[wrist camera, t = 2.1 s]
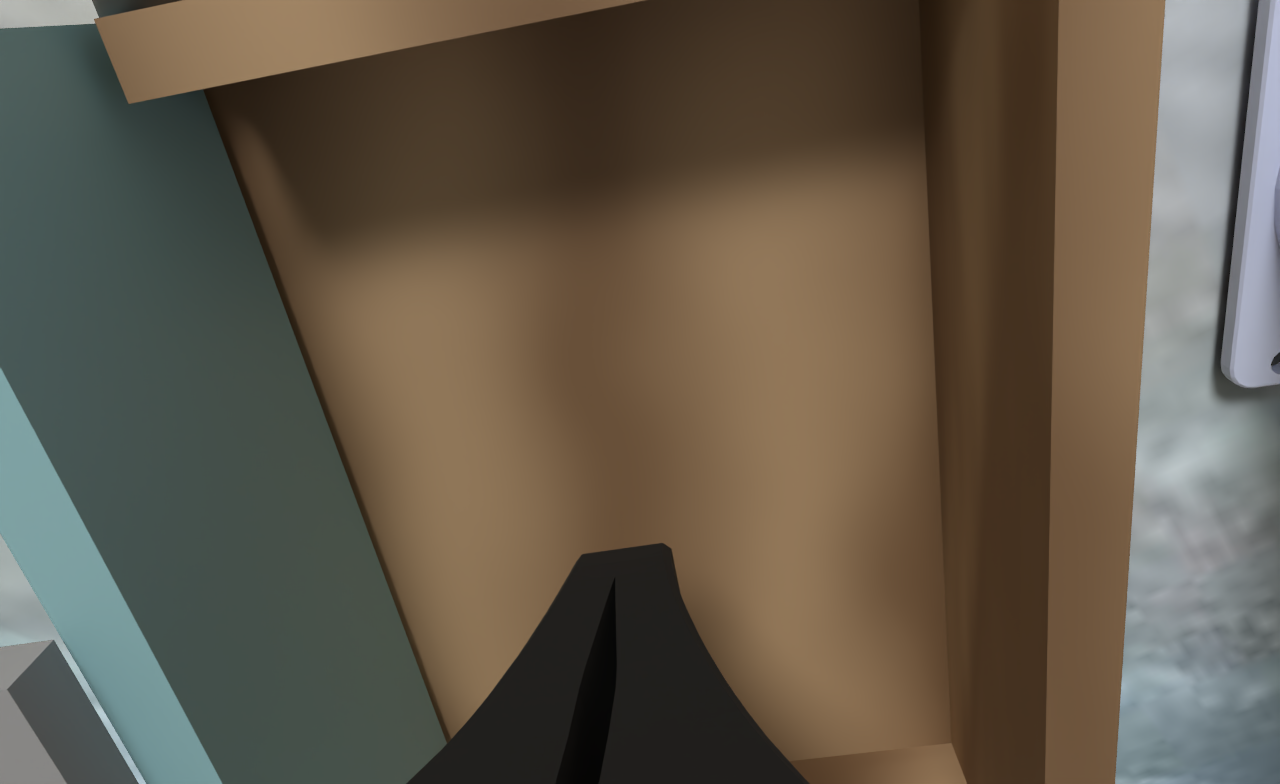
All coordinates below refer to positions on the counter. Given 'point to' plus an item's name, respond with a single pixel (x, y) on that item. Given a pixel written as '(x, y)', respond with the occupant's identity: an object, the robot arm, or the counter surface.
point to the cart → (725, 333)
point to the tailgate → (172, 465)
